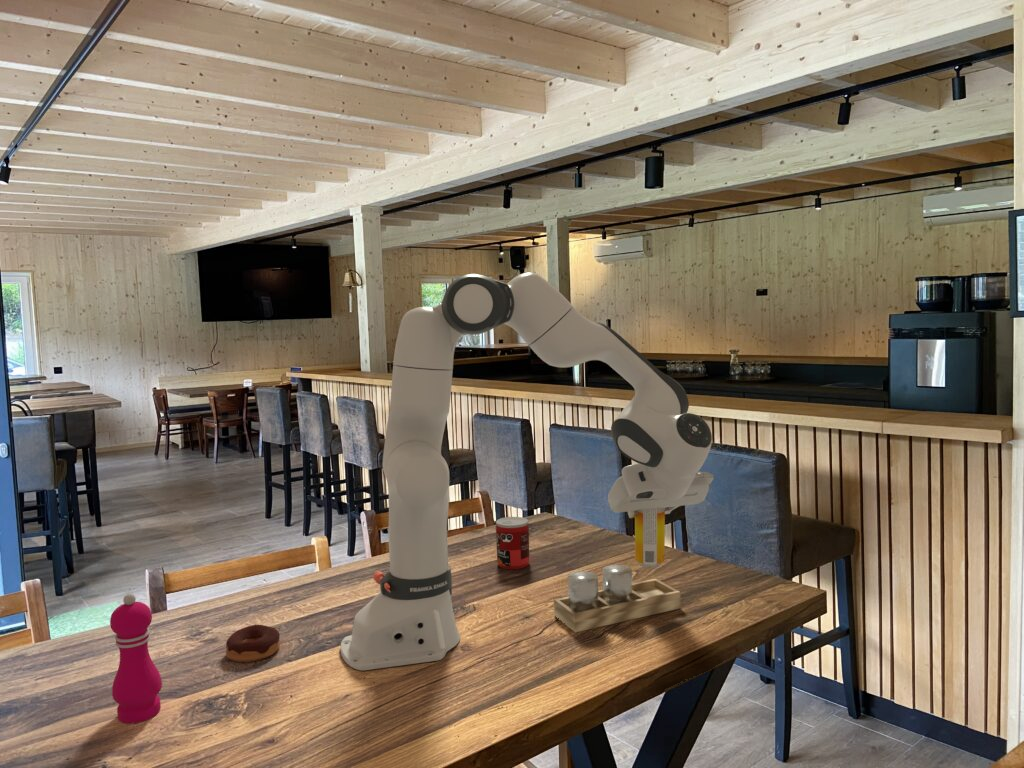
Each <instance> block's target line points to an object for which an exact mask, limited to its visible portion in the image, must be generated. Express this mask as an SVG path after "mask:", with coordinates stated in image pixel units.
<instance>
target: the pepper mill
mask: <svg viewBox="0 0 1024 768" xmlns="http://www.w3.org/2000/svg"><path fill="white" fill-rule="evenodd" d="M136 598H137V597H136V596H135V594H133V593H127V594H126V595H124V596H123V600H122V603H123V604H121V605H119V606H117V607H116V608H115V609H114V610H113V611H112V613H111V616H110V620H109V624H110V629H111V631H112V632H113V633H115V634H116V635H115V637H114V640H115V646H116V647H117V648H118V650H119V663H118V664H119V665H118V668H117V671H116V674H115V677H114V679H113V682H112V687H111V689H112V690H111V693H112V694H111V696H112V699H113V701H115V703H117V704H118V706H117V707H116V711H117V720H118V721H119V722H120V723H123V724H137V723H141V722H145V721H147V720H150V719H151V718H153V717H155V716H157V714H158V713H160V711H161V707H162V706H161V698H160V696H159V694H160V691H161V689H162V687H163V682H162V676H161V673H160V672H159V669H158V667H157V666H156V665H155V663H154V661H153V659H152V658H151V655H150V652H149V643H148V642H149V640H150V639H151V635H150V633H151V631H150V629H149V626H150V625H151V623H152V621H153V613H152V610H151V608H150V607H149V606H148V605H147V604H146V603H144V602H141V601H136V600H137V599H136Z"/></svg>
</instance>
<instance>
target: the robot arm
mask: <svg viewBox="0 0 1024 768" xmlns="http://www.w3.org/2000/svg"><path fill="white" fill-rule="evenodd" d="M501 325H506V326H508V327H509V328H510V329H513V330H514V331H515V332H516V333H517V335H519V336H520V337H521V338H522V339H523V341H524V342H525V344H527V345H528V346H529V348H530V349H531V350H532V351H533V352H534V354H536V355H537V357H538V358H540V360H542V362H544V363H546V364H547V365H548V366H551V367H555V368H571V367H575V366H578V365H581V364H583V363H587V362H590V361H600V362H602V363H605V364H607V365H608V366H609V367H610V368H612V370H613V371H615V372H616V373H617V374H618V375H620V377H622V378H623V379H624V380H625V381H626V382H628V383H629V385H631V386H632V387H633V389H634V393H635V394H634V396H633V397H632V398H631V400H630V401H629V403H628V404H627V405H626V406H625V407H624V408H623V409H622V410H621V412H620V413H619V414H618V415H617V417H616V418H615V419H614V420H613V422H612V423H611V426H610V433H611V437H612V440H613V443H614V445H615V447H616V448H617V449H618V451H619V452H620V453H621V454H622V455H624V456H625V457H626V458H628V459H629V460H631V461H633V462H635V463H633V464H630V465H627V466H624V467H623V468H622V469H621V476H619V477H618V478H617V479H616V480H615V482H614V483H613V485H612V486H611V488H610V490H609V491H608V494H607V501H608V505H609V507H610V510H611V511H612V512H614V514H617V513H624V512H627V515H628V516H627V517H628V518H629V519H635V517H637V516H638V511H637V510H645V509H654V508H664V507H665V515H670V514H671V512H672V511H674V510H675V509H677V508H679V507H681V506H682V507H683V506H689V505H690V506H691V505H698V504H701V503H702V502H704V501H705V499H706V498H707V495H708V493H709V489H710V486H709V485H710V484H711V483H712V482H713V480H714V474H713V473H710V472H709V471H700V469H701V468H702V467H703V466H704V464H705V462H706V460H707V457H708V455H709V453H710V450H711V448H712V444H713V443H712V441H713V439H712V438H713V435H712V431H711V429H710V426H709V424H708V422H706V420H705V419H704V418H702V417H701V416H700V415H697V414H695V413H693V412H688V411H689V407H690V404H689V403H690V402H689V397H688V395H687V392H686V390H685V389H684V387H683V386H682V385H681V384H680V383H679V382H678V381H677V380H676V379H674V378H673V377H671V376H670V375H668V374H666V373H664V372H663V371H661V370H660V369H659V368H657V367H656V366H655V365H654V364H653V363H652V362H650V361H649V360H648V359H647V358H646V357H645V356H644V355H643V354H641V353H640V352H639V351H638V350H637V349H636V348H635V347H633V345H632V344H630V343H629V342H628V341H627V340H626V339H624V337H622V336H621V335H620V334H619V333H617V332H616V331H615V330H614V329H612V328H611V327H610V326H608V325H606V324H604V323H601V322H599V321H597V322H594V321H592V320H590V319H589V318H587V317H585V316H584V314H581V312H579V311H578V310H577V308H575V307H574V306H573V304H572V303H571V302H570V301H569V300H568V299H567V298H566V297H565V296H564V295H563V294H562V293H561V292H560V291H559V290H558V289H557V288H555V286H553V285H552V284H551V283H550V282H549V281H547V280H546V279H545V278H544V277H543V276H541V275H539V274H538V273H535V272H531V271H530V272H524V273H521V274H518V275H517V276H515V277H513V278H512V279H511V280H510V281H508V282H507V283H506V282H502V281H501V280H497V279H495V278H492V277H489V276H486V275H483V274H478V273H470V274H469V273H468V274H467V273H466V274H463V275H461V276H459V277H456V279H454V280H453V281H452V282H451V283H450V284H449V285H448V287H447V288H446V290H445V293H444V296H443V298H442V300H441V302H440V303H439V304H437V305H436V306H435V305H434V306H418V307H415V308H411V309H410V310H408V311H407V312H405V314H404V315H403V316H402V319H401V322H400V325H399V328H398V333H397V336H396V342H395V345H394V347H395V348H394V354H393V363H392V365H393V366H392V375H391V376H392V377H391V389H390V400H389V401H390V402H389V403H390V404H389V410H388V411H389V412H388V417H387V423H386V430H385V439H384V446H383V455H382V470H383V474H384V476H385V478H386V481H387V487H388V529H387V534H388V536H387V537H388V551H389V552H388V554H389V570H388V572H386V574H384V573H383V572H382V571H380V570H378V571H375V572H374V574H373V577H372V579H373V581H375V583H376V584H379V587H380V592H379V593H377V594H376V596H374V597H373V599H371V600H370V601H369V602H368V603H366V604H365V605H364V607H362V608H361V609H360V610H359V611H358V612H357V613H356V614H355V617H354V618H353V621H352V623H353V624H352V630H351V634H349V635H347V636H345V637H344V638H343V639H342V641H341V642H340V655H341V658H342V659H343V660H344V662H345V663H346V664H347V666H349V667H351V668H352V669H355V670H358V671H369V670H371V671H372V670H377V669H384V668H391V667H392V668H393V667H399V666H406V665H407V666H408V665H414V664H421V663H422V664H423V663H429V662H434V661H440V660H442V659H444V658H445V656H446V654H447V653H448V652H449V651H450V650H451V649H453V648H454V647H456V646H457V645H458V643H459V642H460V639H461V636H460V633H459V630H458V627H457V623H456V619H455V614H454V610H453V604H452V594H453V592H452V591H453V575H452V569H451V566H450V565H449V547H448V545H449V544H448V517H449V505H450V503H449V502H450V501H449V500H450V469H449V465H448V463H447V460H446V459H445V458H444V457H443V455H442V445H443V440H444V439H443V438H444V432H445V428H446V424H447V419H448V415H449V413H450V407H451V395H452V394H451V393H452V383H453V373H454V372H453V370H454V356H455V350H456V345H457V343H458V341H459V339H460V338H461V337H462V336H466V335H471V336H475V335H481V334H484V333H486V332H488V331H491V330H494V328H496V327H499V326H501Z"/></svg>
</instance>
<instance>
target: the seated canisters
mask: <svg viewBox="0 0 1024 768" xmlns="http://www.w3.org/2000/svg"><path fill="white" fill-rule="evenodd" d="M632 583H633V569H632V568H631V567H630V566H627V565H623V564H609V565H606V566H604V567H603V568H602V590H603V600H605V601H606V602H608V603H609V604H611V605H615V604H619V603H624V602H628V601H632ZM567 588H568V589H567V590H568V592H567V593H568V596H567V597H569V608H571V609H572V610H573V611H575V612H576V613H578V612H583V611H587V610H592V609H596V608H599V600H598V590H599V575H598V574H597V573H595V572H593V571H585V570H581V571H574V572H572V573H570V574H568V575H567Z"/></svg>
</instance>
